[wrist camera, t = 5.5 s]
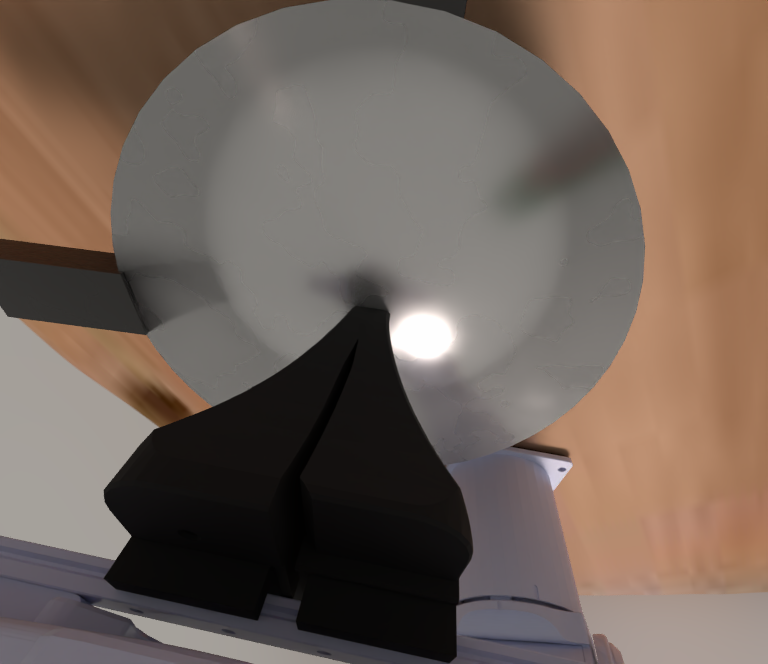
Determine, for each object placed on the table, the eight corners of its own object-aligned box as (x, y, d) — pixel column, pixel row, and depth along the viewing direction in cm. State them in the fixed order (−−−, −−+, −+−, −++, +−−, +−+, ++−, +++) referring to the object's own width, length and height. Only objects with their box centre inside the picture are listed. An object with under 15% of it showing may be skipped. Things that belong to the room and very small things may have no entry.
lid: (521, 470, 17) (527, 493, 16) (108, 412, 17) (90, 433, 16) (780, 49, 7) (834, 47, 6) (-184, -58, 8) (-270, -75, 7)
